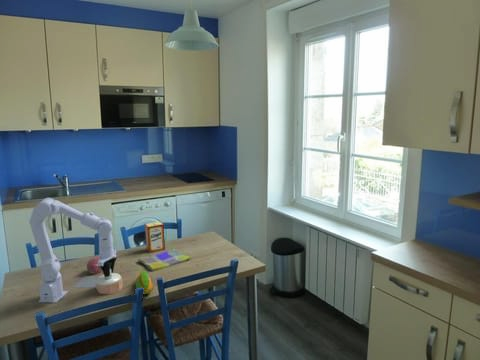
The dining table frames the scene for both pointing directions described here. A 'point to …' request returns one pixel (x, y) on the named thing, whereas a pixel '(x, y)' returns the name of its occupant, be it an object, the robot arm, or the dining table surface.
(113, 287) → the bowl
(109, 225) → the robot arm
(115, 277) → the lid
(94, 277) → the mat
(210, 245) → the dining table surface
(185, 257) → the dish towel
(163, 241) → the baking soda box
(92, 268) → the cupcake
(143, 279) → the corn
